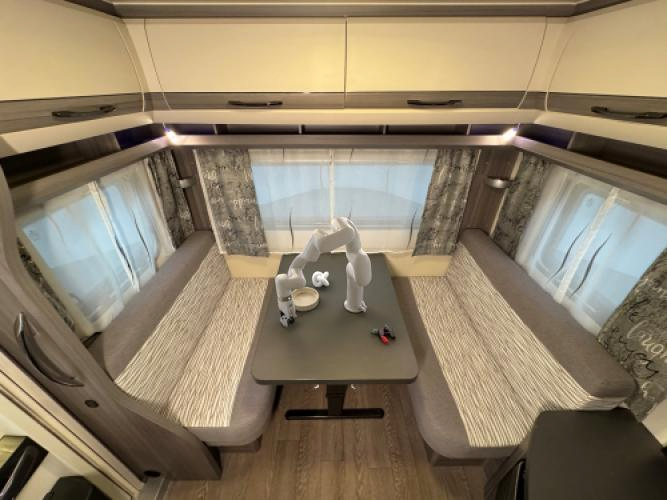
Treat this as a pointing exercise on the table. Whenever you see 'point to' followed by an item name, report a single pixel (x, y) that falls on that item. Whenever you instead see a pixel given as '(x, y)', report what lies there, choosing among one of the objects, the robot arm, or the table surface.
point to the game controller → (285, 320)
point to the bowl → (305, 298)
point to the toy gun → (384, 333)
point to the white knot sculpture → (320, 279)
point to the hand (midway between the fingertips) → (287, 319)
